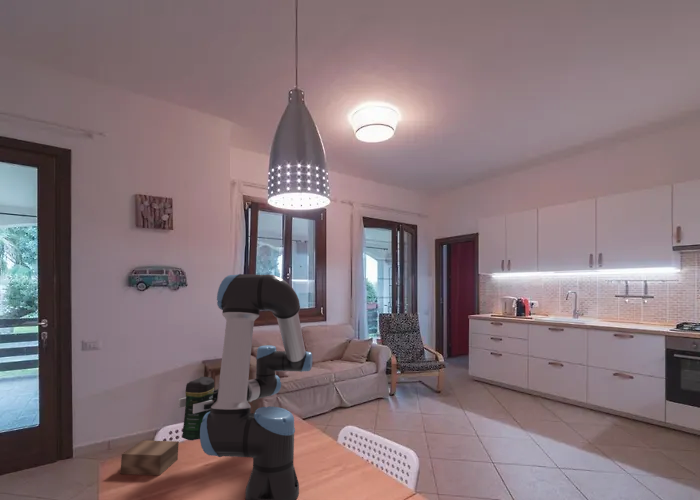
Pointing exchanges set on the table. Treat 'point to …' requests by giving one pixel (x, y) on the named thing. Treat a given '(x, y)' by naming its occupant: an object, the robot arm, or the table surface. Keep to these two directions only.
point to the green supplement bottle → (196, 394)
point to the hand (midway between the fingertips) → (186, 406)
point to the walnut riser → (149, 457)
